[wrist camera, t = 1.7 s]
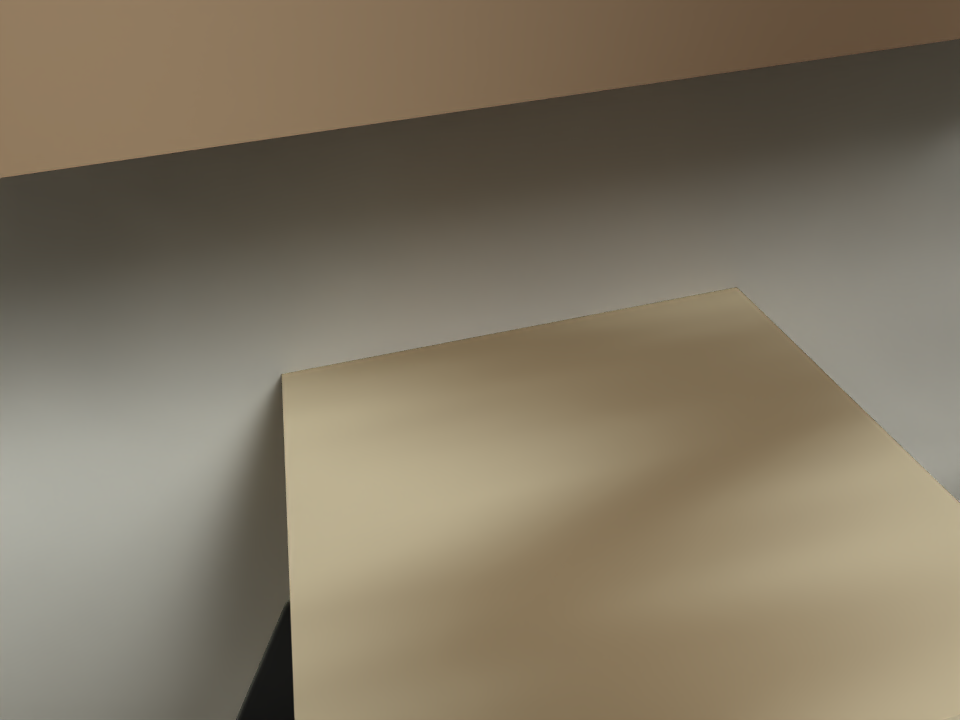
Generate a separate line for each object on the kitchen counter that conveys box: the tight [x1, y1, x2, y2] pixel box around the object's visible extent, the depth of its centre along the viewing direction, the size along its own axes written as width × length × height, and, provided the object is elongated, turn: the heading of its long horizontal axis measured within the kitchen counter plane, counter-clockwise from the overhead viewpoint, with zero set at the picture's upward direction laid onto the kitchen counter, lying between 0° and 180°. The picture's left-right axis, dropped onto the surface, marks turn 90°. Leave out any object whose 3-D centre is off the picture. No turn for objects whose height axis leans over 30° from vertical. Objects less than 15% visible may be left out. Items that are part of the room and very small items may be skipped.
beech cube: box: [282, 287, 960, 720], centre depth 8 cm, size 5×5×5 cm
